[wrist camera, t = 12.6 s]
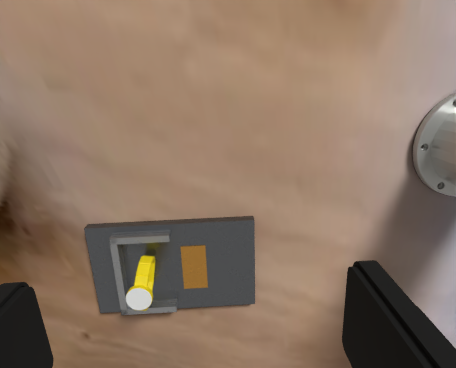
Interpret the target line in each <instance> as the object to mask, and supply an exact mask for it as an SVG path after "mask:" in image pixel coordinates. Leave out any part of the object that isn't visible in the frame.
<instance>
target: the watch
mask: <svg viewBox="0 0 456 368" xmlns="http://www.w3.org/2000/svg"><path fill="white" fill-rule="evenodd" d="M154 272H155V257H154V256H146V255H143V256H142V257H141V258H140V261H139V264H138V267H137V271H136V276H135V282H134V286H132V287H131V288H130V289H129V290H128V292H127V295H126V302H127V304H128V306H129V307H131V308H132V309H134V310H139V311H146V310H148V307H149V306H150V305H151V303H152V300H153V293H152V291H153V284H154Z"/></svg>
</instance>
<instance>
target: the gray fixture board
mask: <svg viewBox="0 0 456 368" xmlns="http://www.w3.org/2000/svg"><path fill="white" fill-rule="evenodd" d="M84 230H85V235H86V241H87V246H88V251H89V256H90V261H91V267H92V272H93V277H94V282H95V287H96V293H97V298H98V303H99V308H100V313H108V312H121V314H122V315H133V314H150V313H167V312H177V308H193V307H209V306H226V305H243V304H255V247H254V217H253V216H244V217H224V218H204V219H184V220H163V221H143V222H123V223H103V224H88V225H87V226H86V227H85V228H84ZM143 255H146V256H154V257H155V272H154V284H153V291H152V293H153V300H152V303H151V305H150V306H149V307H148V310H146V311H139V310H134V309H132V308H131V307H129V306H128V304H127V302H126V295H127V292H128V290H129V289H130V288H131V287H132V286H134V282H135V276H136V271H137V267H138V264H139V261H140V258H141V257H142V256H143Z"/></svg>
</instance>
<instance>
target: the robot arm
mask: <svg viewBox="0 0 456 368" xmlns="http://www.w3.org/2000/svg"><path fill="white" fill-rule="evenodd" d="M413 162H414V167H415V170H416V172H417V174H418V176H419V177H420V179H421V180H422V181H423V183H425V184H426V185H427V186H428V187H429V188H431V189H433V190H435V191H437V192H439V193H442V194H444V195H448V196H455V197H456V93H454V94H452V95H450V96H448V97H447V98H445V99H444V100H442V101H441V102H439V103H438V104H437V105H436V106H435V107H434V108H433V109H432V110H431V111H430V112H429V113H428V115H427V116H426V117H425V118H424V120H423V122H422V124H421V125H420V127H419V129H418V132H417V134H416V137H415V140H414V145H413ZM342 342H343V347H344V350H345V353H346V355H347V357H348V359H349V361H350V363H351V366H352V368H456V349H455V348H454V347H453V345H452V344H451V343H450V342H449V341H448V340H447V339H446V338H445V336H444V335H443V334H442V333H441V332H440V331H439V330H438V329H437V327H436V326H435V325H434V324H433V323H432V322H431V321H430V320H429V318H428V317H427V316H426V315H425V314H424V313H423V312H422V311H421V310H420V309H419V308H418V307H417V306H416V305H415V304H414V303H413V302H412V301H411V300H410V299H409V297H408V296H407V295H406V294H405V293H404V292H403V291H402V289H401V288H400V287H399V286H398V285H397V284H396V283H395V282H394V280H393V279H392V278H391V277H390V276H389V275H388V274H387V272H386V271H385V270H384V269H383V268H382V267H381V266H380V265H379V263H378V262H376V261H374V260H372V261H356V262H354V264H353V267H349V268H348V272H347V285H346V297H345V309H344V322H343V334H342ZM52 366H53V355H52V351H51V348H50V344H49V341H48V337H47V334H46V330H45V327H44V323H43V319H42V316H41V312H40V309H39V305H38V302H37V298H36V295H35V291H34V289H33V288H32V287H29V286H28V284H27V283H25V282H16V283H4V284H1V285H0V368H52Z"/></svg>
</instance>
